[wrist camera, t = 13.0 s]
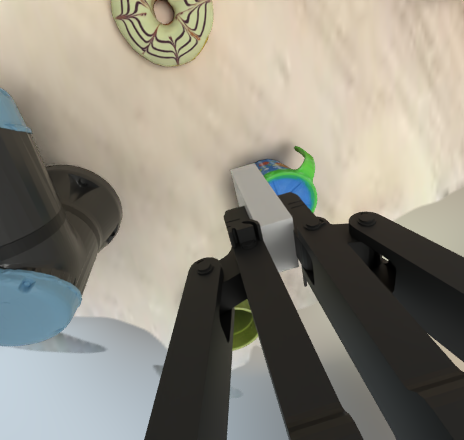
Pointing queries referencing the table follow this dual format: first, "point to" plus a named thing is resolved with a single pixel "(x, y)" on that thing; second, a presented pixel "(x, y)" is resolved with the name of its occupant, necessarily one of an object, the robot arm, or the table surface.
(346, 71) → the table surface
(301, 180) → the snack cup
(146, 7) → the decorated donut
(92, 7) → the table surface
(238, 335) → the plant pot
